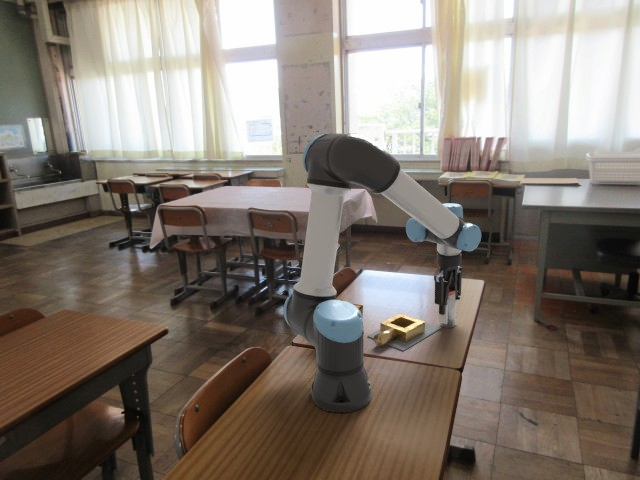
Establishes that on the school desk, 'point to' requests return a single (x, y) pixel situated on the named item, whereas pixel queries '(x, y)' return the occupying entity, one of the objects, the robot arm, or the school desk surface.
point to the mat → (403, 346)
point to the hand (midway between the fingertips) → (447, 320)
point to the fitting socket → (399, 329)
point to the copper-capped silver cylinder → (450, 309)
